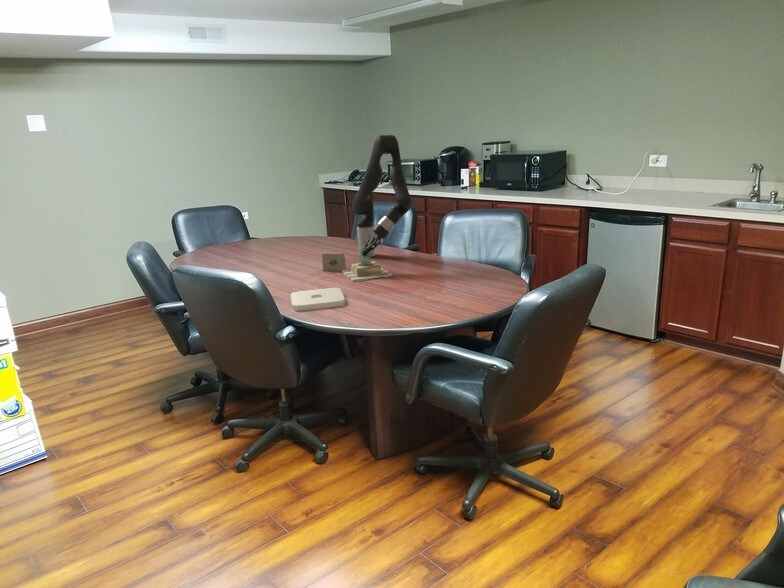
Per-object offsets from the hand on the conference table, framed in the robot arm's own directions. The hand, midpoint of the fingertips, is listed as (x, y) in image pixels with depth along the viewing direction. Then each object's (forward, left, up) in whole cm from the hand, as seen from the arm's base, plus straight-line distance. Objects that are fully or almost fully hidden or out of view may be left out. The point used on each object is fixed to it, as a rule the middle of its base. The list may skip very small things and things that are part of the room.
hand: (362, 254), depth 287 cm
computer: (+34, -30, -11) cm, 47 cm away
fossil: (-17, -11, -11) cm, 23 cm away
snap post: (0, +1, -5) cm, 6 cm away
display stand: (0, +1, -11) cm, 11 cm away
